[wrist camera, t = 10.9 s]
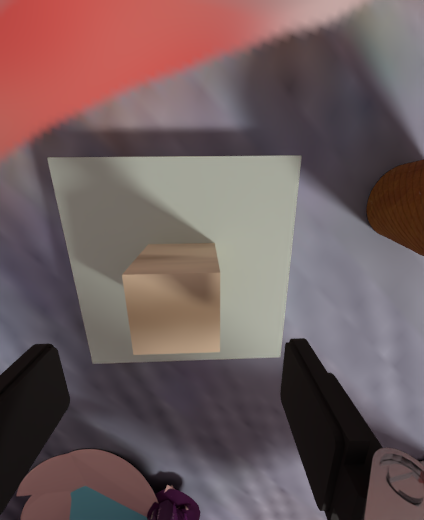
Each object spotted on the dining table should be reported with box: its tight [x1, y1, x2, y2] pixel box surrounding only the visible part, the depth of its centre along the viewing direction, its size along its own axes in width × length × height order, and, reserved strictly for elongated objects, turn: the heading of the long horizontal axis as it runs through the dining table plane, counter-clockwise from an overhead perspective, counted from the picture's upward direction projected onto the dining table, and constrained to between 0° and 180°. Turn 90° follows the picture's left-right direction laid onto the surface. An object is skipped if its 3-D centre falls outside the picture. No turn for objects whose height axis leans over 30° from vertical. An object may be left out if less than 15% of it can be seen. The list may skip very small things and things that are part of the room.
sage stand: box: [47, 156, 301, 364], centre depth 20 cm, size 17×17×3 cm
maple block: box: [122, 243, 220, 355], centre depth 15 cm, size 5×5×6 cm
